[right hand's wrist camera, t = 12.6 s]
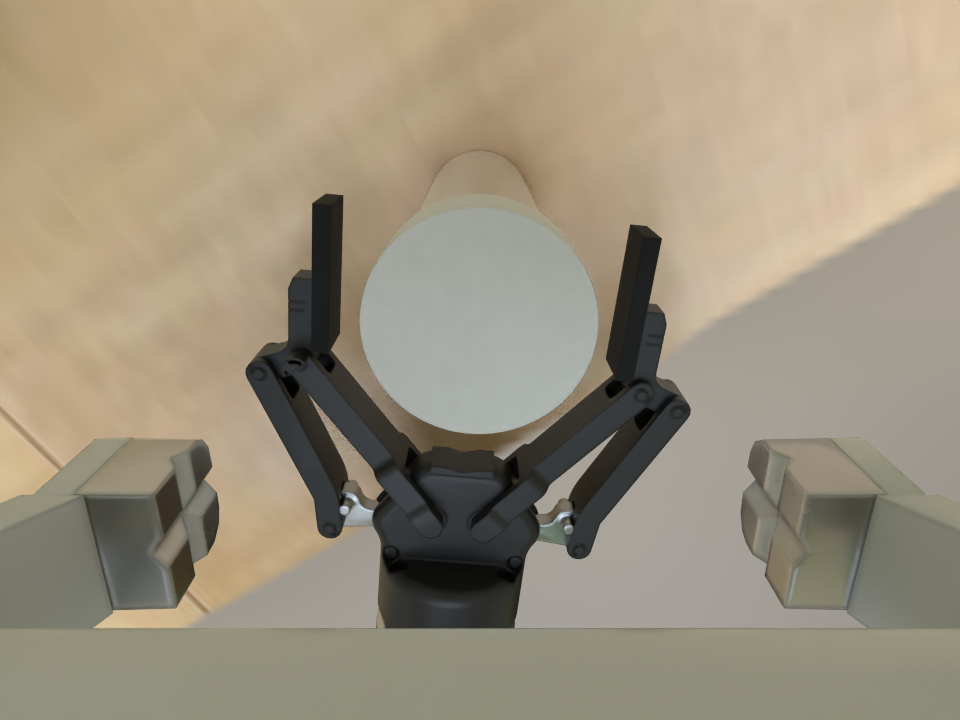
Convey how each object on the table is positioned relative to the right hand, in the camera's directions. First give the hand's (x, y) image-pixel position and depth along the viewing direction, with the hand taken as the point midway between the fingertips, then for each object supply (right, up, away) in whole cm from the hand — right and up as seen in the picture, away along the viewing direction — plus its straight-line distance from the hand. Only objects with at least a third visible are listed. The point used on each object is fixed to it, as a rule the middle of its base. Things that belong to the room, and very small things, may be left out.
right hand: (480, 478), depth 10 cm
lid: (0, +3, +7) cm, 7 cm away
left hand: (0, +8, +19) cm, 20 cm away
